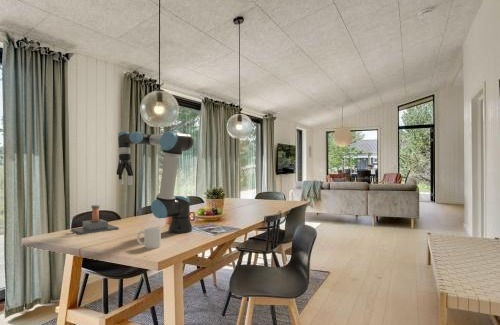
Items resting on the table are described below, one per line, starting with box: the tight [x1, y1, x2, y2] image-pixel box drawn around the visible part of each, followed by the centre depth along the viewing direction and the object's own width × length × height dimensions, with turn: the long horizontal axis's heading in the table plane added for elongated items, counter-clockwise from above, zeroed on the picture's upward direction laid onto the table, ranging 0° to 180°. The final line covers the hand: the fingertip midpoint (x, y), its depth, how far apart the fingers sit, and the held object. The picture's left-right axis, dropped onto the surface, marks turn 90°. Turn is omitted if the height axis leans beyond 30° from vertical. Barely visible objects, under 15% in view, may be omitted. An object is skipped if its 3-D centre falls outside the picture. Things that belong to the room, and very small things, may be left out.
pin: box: [91, 204, 101, 222], centre depth 217 cm, size 5×5×15 cm
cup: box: [136, 225, 162, 250], centre depth 171 cm, size 8×12×10 cm
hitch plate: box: [70, 218, 119, 236], centre depth 217 cm, size 24×18×6 cm
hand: (125, 184), depth 221 cm, fingers open, 13 cm apart
